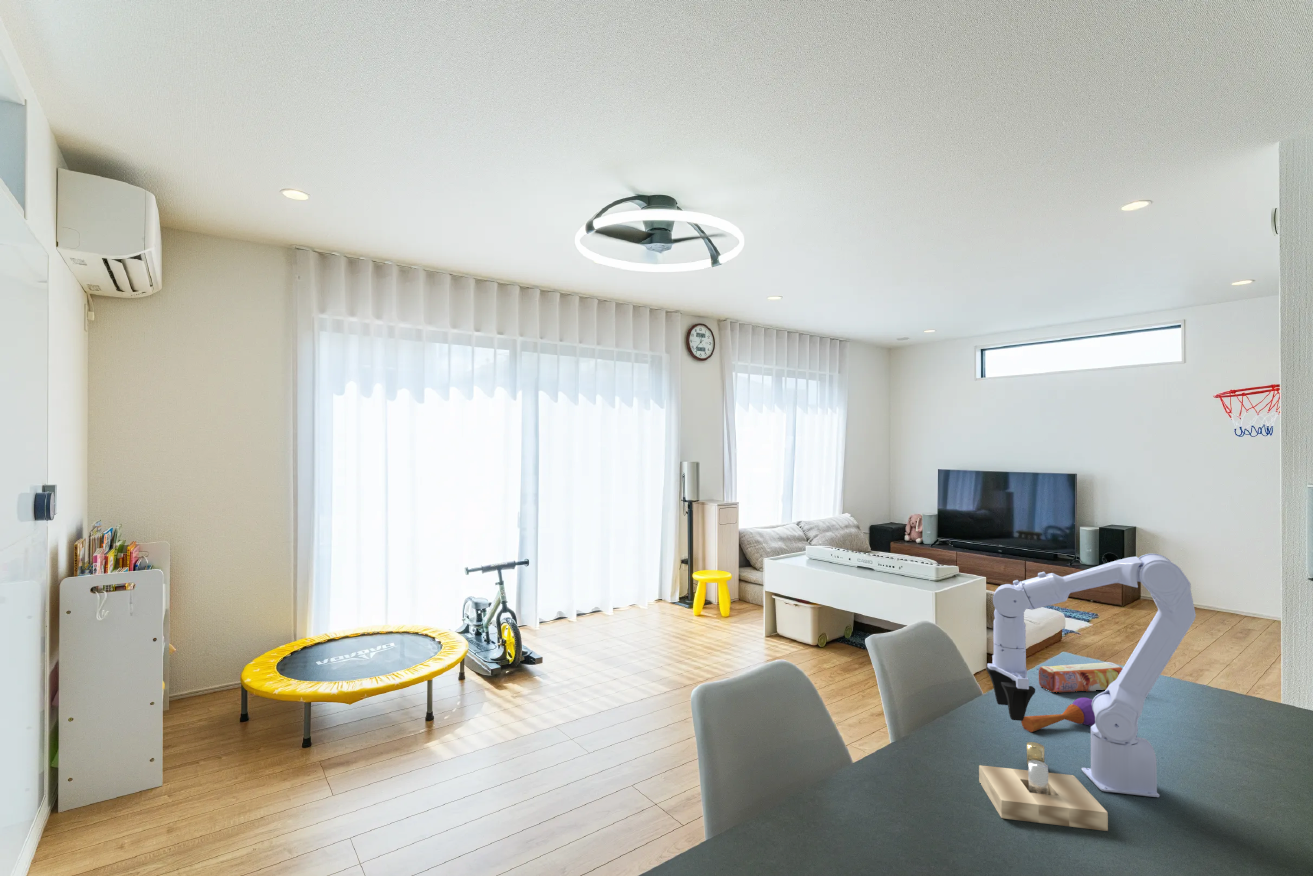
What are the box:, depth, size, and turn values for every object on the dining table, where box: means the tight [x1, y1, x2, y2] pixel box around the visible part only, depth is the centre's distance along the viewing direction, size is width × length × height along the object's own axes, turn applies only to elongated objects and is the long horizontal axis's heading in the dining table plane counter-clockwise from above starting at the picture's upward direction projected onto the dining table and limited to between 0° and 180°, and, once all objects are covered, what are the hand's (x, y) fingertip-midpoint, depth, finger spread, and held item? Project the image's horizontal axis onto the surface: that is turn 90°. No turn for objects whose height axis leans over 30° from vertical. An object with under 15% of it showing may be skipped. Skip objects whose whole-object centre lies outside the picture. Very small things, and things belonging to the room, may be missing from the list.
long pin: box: [1027, 760, 1049, 795], centre depth 108 cm, size 3×3×7 cm
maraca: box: [1020, 697, 1095, 733], centre depth 140 cm, size 6×6×20 cm
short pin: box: [1026, 741, 1045, 766], centre depth 121 cm, size 3×3×4 cm
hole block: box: [978, 765, 1109, 832], centre depth 108 cm, size 16×12×3 cm
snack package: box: [1038, 661, 1123, 694], centre depth 163 cm, size 21×7×7 cm, turn 97°
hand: (1009, 711), depth 124 cm, fingers open, 7 cm apart
